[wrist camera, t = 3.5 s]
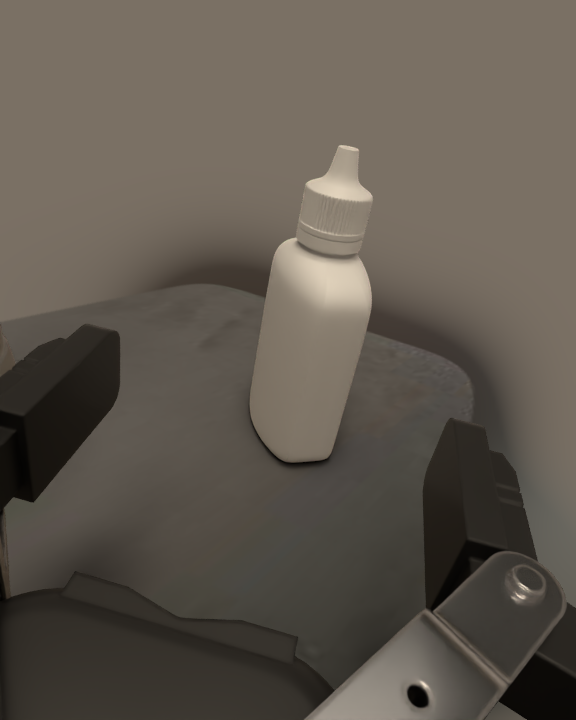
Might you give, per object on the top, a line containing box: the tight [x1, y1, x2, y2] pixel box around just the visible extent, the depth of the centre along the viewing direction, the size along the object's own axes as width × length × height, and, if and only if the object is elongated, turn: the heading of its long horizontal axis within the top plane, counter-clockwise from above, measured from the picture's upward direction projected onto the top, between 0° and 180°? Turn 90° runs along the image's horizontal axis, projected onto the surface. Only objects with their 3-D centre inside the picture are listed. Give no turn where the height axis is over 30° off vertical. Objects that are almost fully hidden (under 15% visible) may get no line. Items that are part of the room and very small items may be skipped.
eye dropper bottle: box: [249, 145, 373, 463], centre depth 21 cm, size 4×6×12 cm
